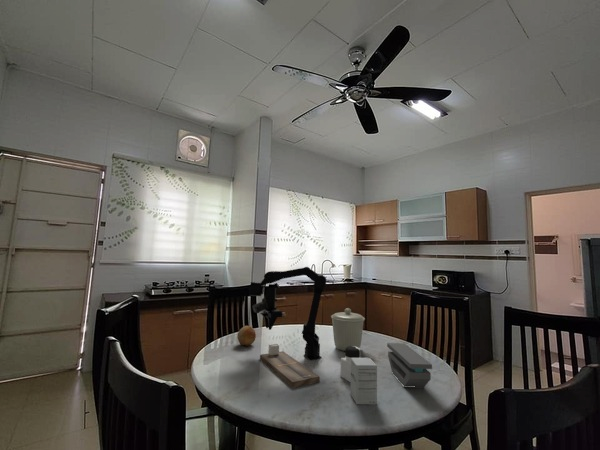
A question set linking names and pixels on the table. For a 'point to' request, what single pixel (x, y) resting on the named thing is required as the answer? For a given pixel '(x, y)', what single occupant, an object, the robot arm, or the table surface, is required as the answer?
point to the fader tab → (273, 349)
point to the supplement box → (363, 381)
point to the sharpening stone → (408, 365)
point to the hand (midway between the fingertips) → (268, 328)
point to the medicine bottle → (348, 361)
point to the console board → (290, 369)
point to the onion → (246, 335)
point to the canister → (347, 329)
